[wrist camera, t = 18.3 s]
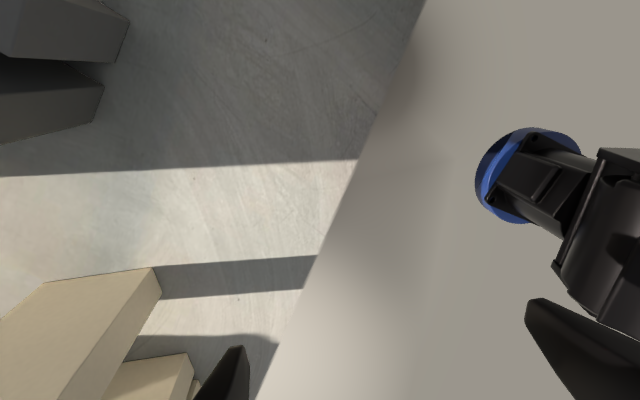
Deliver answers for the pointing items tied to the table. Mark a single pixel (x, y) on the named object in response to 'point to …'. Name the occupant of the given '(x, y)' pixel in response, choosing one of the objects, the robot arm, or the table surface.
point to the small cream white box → (73, 335)
